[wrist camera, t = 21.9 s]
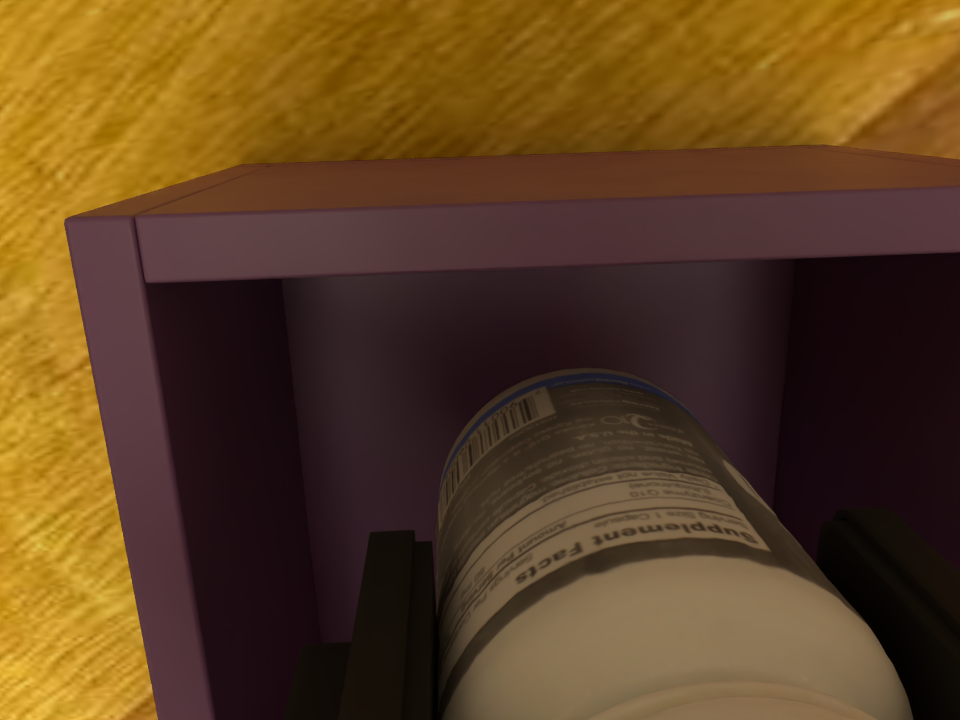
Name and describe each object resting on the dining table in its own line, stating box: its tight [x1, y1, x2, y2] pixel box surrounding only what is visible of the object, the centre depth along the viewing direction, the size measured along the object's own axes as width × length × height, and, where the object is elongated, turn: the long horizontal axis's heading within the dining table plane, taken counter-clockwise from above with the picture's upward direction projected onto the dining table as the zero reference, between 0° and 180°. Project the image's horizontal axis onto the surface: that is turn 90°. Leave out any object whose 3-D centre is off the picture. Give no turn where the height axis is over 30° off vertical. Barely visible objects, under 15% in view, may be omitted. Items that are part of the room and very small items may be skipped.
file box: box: [64, 145, 960, 720], centre depth 16 cm, size 16×13×8 cm
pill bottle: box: [435, 368, 914, 720], centre depth 9 cm, size 5×5×8 cm
